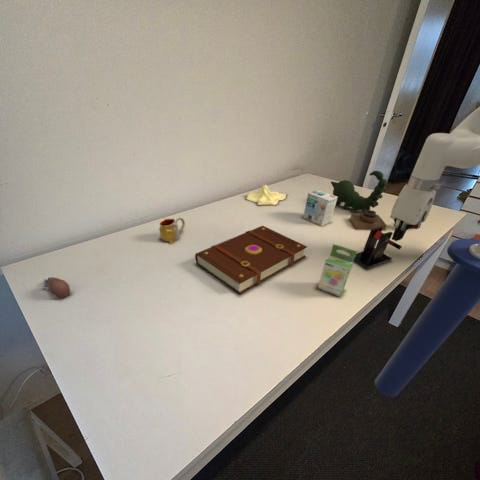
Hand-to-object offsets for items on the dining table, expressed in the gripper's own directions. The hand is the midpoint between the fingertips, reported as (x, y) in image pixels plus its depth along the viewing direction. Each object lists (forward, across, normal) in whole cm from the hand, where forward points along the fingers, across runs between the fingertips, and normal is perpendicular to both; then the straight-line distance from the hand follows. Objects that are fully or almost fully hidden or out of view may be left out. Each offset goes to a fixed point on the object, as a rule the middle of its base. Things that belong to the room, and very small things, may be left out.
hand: (396, 239), depth 92 cm
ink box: (+5, -6, +35) cm, 36 cm away
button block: (+6, +21, -11) cm, 25 cm away
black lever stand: (+6, 0, +10) cm, 12 cm away
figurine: (+4, +31, +108) cm, 112 cm away
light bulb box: (+5, +34, +6) cm, 35 cm away
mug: (+5, +48, +66) cm, 81 cm away
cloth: (+5, +67, +11) cm, 68 cm away
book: (+5, +19, +48) cm, 52 cm away
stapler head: (0, 0, +6) cm, 6 cm away
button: (+2, +21, -11) cm, 24 cm away
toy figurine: (+6, +38, -17) cm, 42 cm away
